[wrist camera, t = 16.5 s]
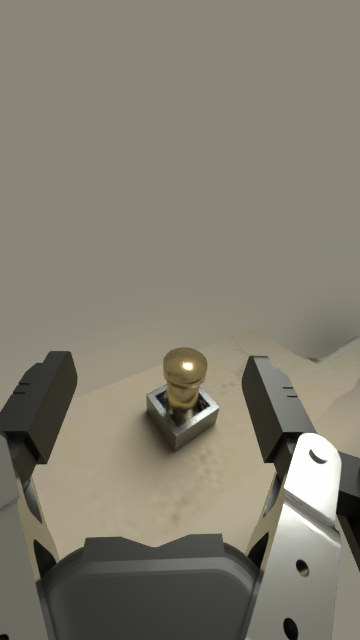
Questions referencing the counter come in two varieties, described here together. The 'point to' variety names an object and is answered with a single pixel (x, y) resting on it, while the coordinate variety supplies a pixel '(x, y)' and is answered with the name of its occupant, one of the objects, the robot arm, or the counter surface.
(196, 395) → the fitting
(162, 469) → the counter surface
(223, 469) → the counter surface
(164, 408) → the open metal box
